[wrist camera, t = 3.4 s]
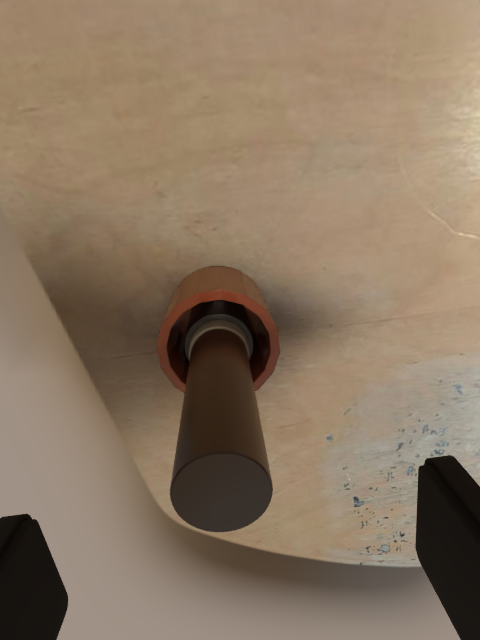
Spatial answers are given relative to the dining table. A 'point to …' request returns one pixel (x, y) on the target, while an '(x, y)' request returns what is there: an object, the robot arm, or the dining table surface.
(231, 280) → the brush pot
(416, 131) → the dining table surface
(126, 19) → the dining table surface
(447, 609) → the robot arm
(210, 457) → the brush
